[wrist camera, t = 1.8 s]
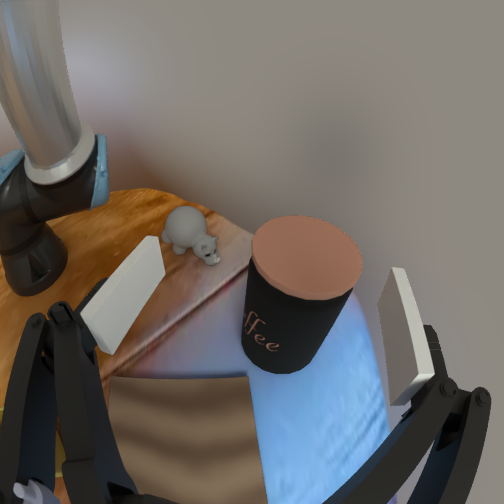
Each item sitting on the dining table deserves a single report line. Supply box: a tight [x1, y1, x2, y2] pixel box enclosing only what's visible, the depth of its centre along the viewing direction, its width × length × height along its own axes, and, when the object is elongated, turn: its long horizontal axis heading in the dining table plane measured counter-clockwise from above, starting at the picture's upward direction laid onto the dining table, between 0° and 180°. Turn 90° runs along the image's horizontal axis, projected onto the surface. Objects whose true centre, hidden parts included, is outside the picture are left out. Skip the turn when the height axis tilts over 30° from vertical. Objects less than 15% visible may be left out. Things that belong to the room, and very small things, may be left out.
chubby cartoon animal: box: [161, 206, 220, 266], centre depth 46 cm, size 7×12×8 cm, turn 52°
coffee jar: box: [242, 215, 362, 374], centre depth 31 cm, size 11×11×18 cm
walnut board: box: [108, 376, 268, 504], centre depth 25 cm, size 18×18×1 cm
